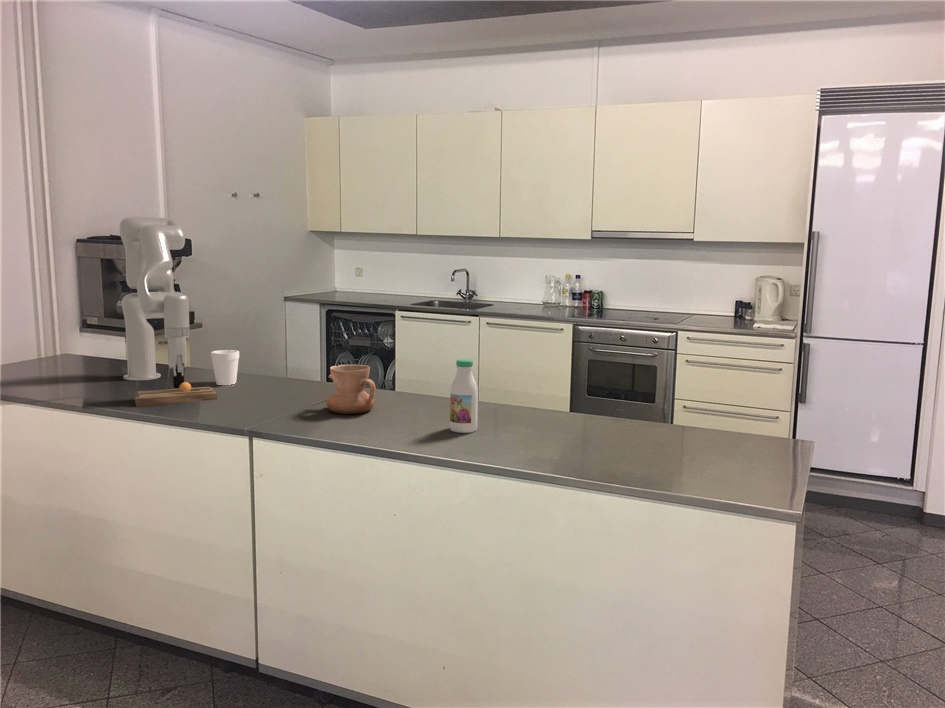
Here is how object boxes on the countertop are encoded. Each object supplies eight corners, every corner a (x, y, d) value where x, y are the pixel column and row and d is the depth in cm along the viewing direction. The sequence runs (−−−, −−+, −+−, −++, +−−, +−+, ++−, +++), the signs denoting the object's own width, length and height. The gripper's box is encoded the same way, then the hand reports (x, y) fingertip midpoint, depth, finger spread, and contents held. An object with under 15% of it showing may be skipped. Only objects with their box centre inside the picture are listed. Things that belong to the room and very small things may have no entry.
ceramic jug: (313, 412, 223) (313, 367, 222) (347, 405, 235) (346, 361, 233) (356, 421, 213) (356, 373, 211) (389, 412, 225) (389, 367, 223)
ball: (194, 391, 238) (184, 396, 238) (192, 382, 240) (182, 387, 240) (187, 387, 235) (177, 392, 235) (185, 378, 237) (176, 383, 237)
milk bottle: (461, 425, 210) (463, 357, 207) (482, 430, 205) (484, 360, 202) (444, 430, 204) (445, 360, 201) (465, 435, 199) (466, 363, 196)
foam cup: (206, 388, 259) (205, 352, 257) (226, 384, 267) (225, 349, 265) (226, 391, 255) (225, 354, 253) (245, 386, 263) (244, 351, 261)
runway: (134, 399, 238) (134, 390, 237) (212, 394, 248) (211, 385, 248) (136, 406, 227) (136, 397, 227) (217, 400, 238) (216, 391, 237)
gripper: (162, 329, 240) (164, 384, 243) (166, 335, 227) (168, 393, 230) (186, 329, 244) (188, 382, 247) (192, 335, 231) (193, 391, 234)
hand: (178, 387), depth 238 cm, fingers closed
